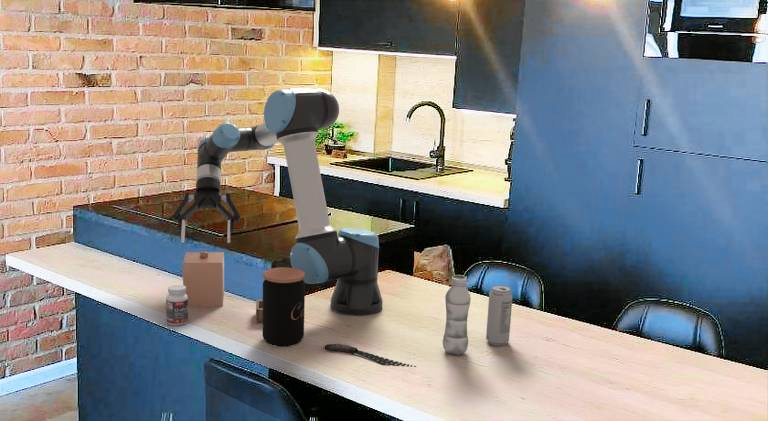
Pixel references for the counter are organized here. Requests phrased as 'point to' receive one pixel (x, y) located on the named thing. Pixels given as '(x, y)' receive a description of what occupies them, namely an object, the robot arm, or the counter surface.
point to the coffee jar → (283, 306)
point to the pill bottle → (177, 305)
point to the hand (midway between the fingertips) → (205, 240)
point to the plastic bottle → (456, 316)
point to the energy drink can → (499, 315)
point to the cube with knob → (204, 278)
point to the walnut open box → (259, 311)
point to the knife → (362, 354)
